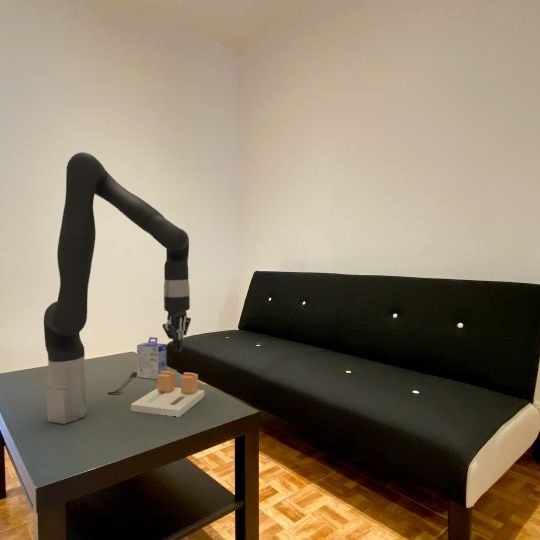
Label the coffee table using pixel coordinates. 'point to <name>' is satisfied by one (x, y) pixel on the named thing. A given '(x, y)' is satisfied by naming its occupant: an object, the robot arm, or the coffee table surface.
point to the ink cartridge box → (151, 359)
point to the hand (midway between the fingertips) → (177, 351)
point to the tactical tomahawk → (123, 385)
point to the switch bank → (167, 402)
